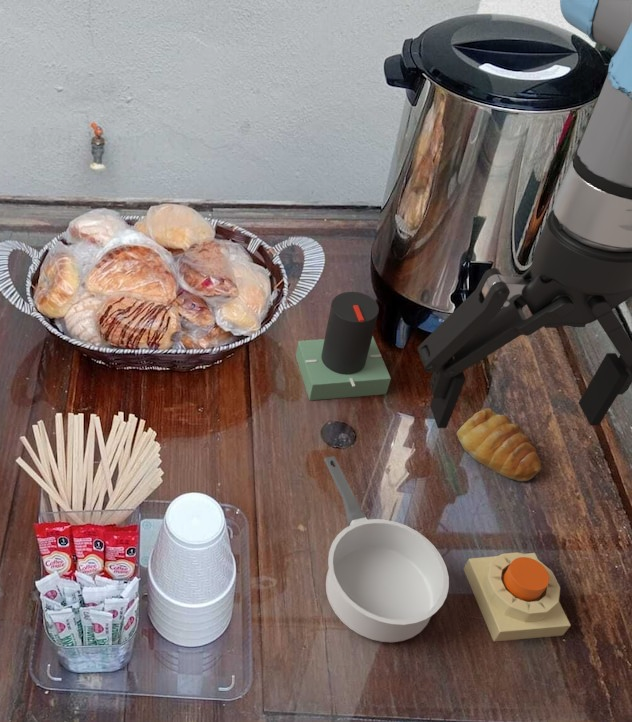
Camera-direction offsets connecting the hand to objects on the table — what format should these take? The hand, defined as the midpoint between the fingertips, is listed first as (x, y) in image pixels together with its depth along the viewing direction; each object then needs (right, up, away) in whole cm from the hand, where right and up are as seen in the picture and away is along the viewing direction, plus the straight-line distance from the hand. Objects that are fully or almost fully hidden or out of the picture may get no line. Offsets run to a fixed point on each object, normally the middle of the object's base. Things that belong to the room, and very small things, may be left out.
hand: (512, 415), depth 71 cm
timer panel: (-8, +3, +31) cm, 32 cm away
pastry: (+8, -6, +22) cm, 24 cm away
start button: (+4, -17, +6) cm, 18 cm away
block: (+4, -20, +8) cm, 21 cm away
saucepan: (-11, -16, +12) cm, 23 cm away
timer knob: (-8, +5, +29) cm, 30 cm away
